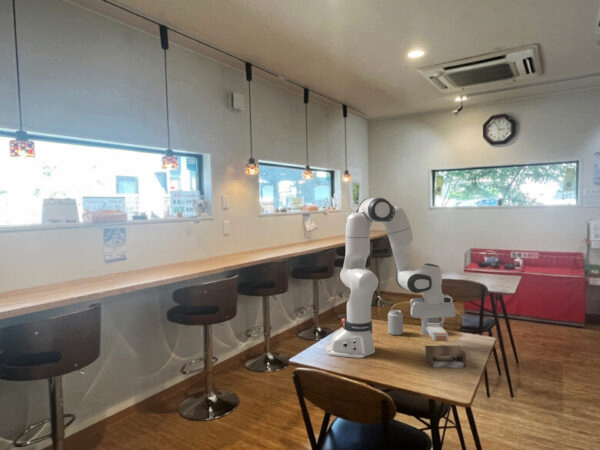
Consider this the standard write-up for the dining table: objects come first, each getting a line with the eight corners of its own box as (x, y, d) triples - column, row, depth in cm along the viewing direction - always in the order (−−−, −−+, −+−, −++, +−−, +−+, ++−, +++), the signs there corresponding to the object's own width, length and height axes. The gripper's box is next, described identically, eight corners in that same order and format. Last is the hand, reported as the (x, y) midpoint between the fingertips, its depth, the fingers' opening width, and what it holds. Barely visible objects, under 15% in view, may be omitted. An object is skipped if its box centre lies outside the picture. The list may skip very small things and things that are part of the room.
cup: (424, 329, 204) (424, 310, 204) (440, 331, 200) (440, 312, 199) (419, 333, 198) (419, 314, 197) (435, 336, 193) (435, 316, 192)
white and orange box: (434, 341, 167) (434, 334, 167) (425, 329, 183) (425, 323, 183) (448, 341, 167) (448, 334, 166) (438, 329, 182) (438, 323, 182)
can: (403, 336, 194) (403, 313, 193) (388, 335, 196) (388, 312, 195) (402, 331, 201) (402, 309, 201) (387, 331, 203) (387, 308, 202)
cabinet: (430, 367, 156) (430, 354, 156) (425, 358, 166) (425, 345, 166) (466, 367, 155) (466, 354, 155) (458, 358, 164) (458, 346, 164)
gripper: (411, 299, 178) (411, 328, 179) (456, 299, 176) (456, 328, 177) (408, 296, 185) (409, 324, 185) (452, 295, 183) (452, 324, 183)
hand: (433, 326), depth 181 cm, fingers closed on white and orange box, 6 cm apart
